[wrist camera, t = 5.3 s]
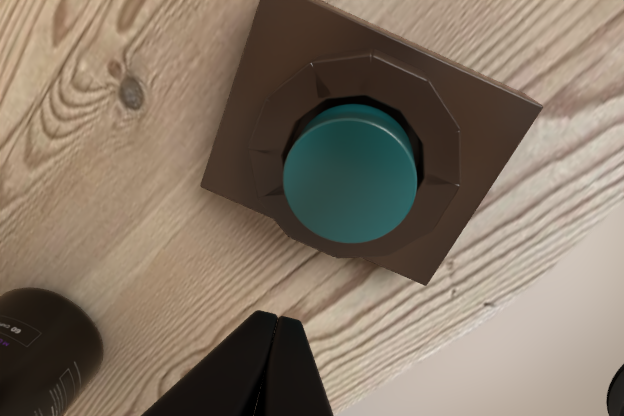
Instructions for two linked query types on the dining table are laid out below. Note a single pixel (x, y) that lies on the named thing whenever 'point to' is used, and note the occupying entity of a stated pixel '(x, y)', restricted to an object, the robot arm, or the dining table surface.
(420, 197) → the button housing
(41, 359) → the supplement bottle
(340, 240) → the press top
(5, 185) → the dining table surface
